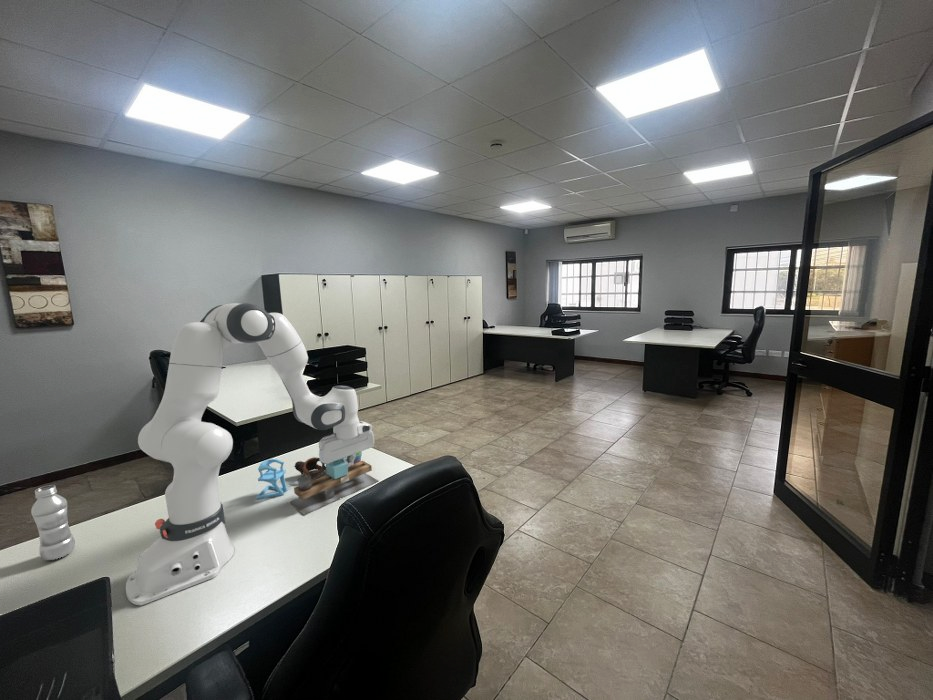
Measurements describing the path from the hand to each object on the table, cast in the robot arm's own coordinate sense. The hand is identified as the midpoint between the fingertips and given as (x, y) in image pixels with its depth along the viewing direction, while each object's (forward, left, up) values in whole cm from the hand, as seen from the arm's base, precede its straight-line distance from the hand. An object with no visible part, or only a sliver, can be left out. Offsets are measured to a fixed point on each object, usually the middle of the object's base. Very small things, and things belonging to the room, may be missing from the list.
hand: (349, 466), depth 136 cm
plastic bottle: (-73, +27, -8) cm, 78 cm away
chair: (-21, +16, -8) cm, 27 cm away
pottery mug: (-6, +18, -8) cm, 21 cm away
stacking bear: (+7, +13, -8) cm, 17 cm away
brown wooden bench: (-6, 0, -8) cm, 9 cm away
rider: (-5, 0, -3) cm, 6 cm away
